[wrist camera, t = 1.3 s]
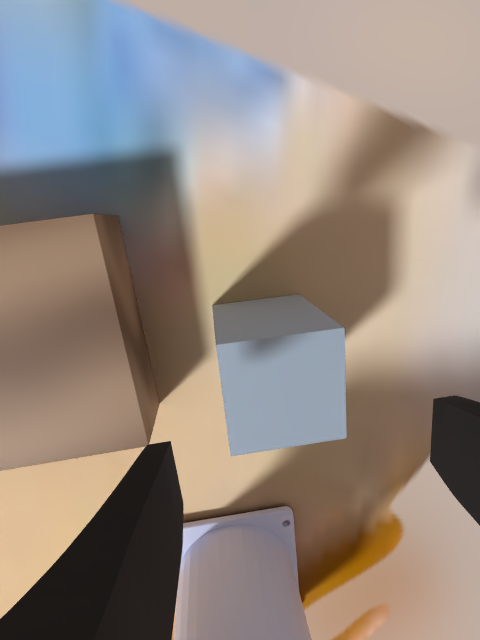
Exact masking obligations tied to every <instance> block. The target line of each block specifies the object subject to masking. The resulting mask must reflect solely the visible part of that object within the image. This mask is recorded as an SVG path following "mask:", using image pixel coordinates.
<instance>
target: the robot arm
mask: <svg viewBox="0 0 480 640" xmlns="http://www.w3.org/2000/svg"><path fill="white" fill-rule="evenodd" d="M430 462H431V463H432V465H433V466H434V468H435V469H436V471H437V472H438V474H439V475H440V476H441V478H442V480H443V481H444V483H445V484H446V485H447V487H448V488H449V489H450V491H451V492H452V494H453V495H454V496H455V497H456V499H457V500H458V501H459V502H460V503H461V505H462V506H463V507H464V508H465V509H466V510H467V511H468V513H469V514H470V515H471V516H472V517H473V518H474V519H475V521H476V522H477V523H478V524H479V525H480V403H479V402H476V401H473V400H470V399H466V398H463V397H459V396H448V397H442V398H436V399H434V400H433V418H432V437H431V455H430ZM285 520H288V521H286V522H284V521H285ZM176 598H177V603H176ZM175 606H176V617H175V630H174V640H311V636H310V632H309V628H308V624H307V621H306V616H305V612H304V608H303V605H302V601H301V597H300V593H299V583H298V570H297V556H296V543H295V529H294V516H293V512H292V509H291V508H290V507H287V506H283V507H277V508H271V509H265V510H259V511H253V512H247V513H241V514H235V515H229V516H223V517H217V518H211V519H205V520H199V521H193V522H187V523H183V499H182V495H181V490H180V485H179V480H178V475H177V470H176V465H175V460H174V456H173V451H172V446H171V441H169V442H162V443H156V444H150V445H147V446H146V447H145V448H144V450H143V451H142V452H141V454H140V455H139V456H138V458H137V459H136V461H135V462H134V463H133V465H132V466H131V468H130V469H129V470H128V472H127V473H126V475H125V476H124V477H123V479H122V480H121V481H120V483H119V484H118V486H117V487H116V488H115V490H114V491H113V492H112V494H111V495H110V496H109V497H108V499H107V500H106V501H105V503H104V504H103V505H102V507H101V508H100V509H99V511H98V512H97V513H96V514H95V516H94V517H93V518H92V519H91V521H90V522H89V523H88V524H87V525H86V527H85V528H84V529H83V530H82V532H81V533H80V534H79V535H78V536H77V538H76V539H75V540H74V541H73V542H72V544H71V545H70V546H69V547H68V548H67V550H66V551H65V552H64V553H63V554H62V555H61V556H60V558H59V559H58V560H57V561H56V562H55V563H54V564H53V565H52V566H51V568H50V569H49V570H48V571H47V572H46V573H45V574H44V575H43V576H42V577H41V578H40V579H39V580H38V581H37V582H36V583H35V585H34V586H33V587H32V588H31V589H30V590H29V591H28V592H27V593H26V594H25V595H24V596H23V597H22V598H21V599H20V600H19V601H18V602H17V603H16V604H15V605H14V606H13V607H12V608H11V609H10V610H9V611H8V612H7V613H6V614H5V615H4V616H3V617H2V618H1V619H0V640H171V638H172V630H173V622H174V614H175Z"/></svg>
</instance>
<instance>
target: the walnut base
mask: <svg viewBox="0 0 480 640" xmlns="http://www.w3.org/2000/svg"><path fill="white" fill-rule="evenodd" d="M158 407H159V400H158V395H157V391H156V386H155V382H154V377H153V372H152V368H151V363H150V359H149V354H148V350H147V345H146V341H145V336H144V332H143V327H142V322H141V318H140V313H139V309H138V304H137V300H136V295H135V291H134V286H133V282H132V277H131V272H130V268H129V263H128V259H127V254H126V250H125V245H124V241H123V236H122V232H121V227H120V222H119V218H118V216H115V215H103V214H87V215H79V216H71V217H63V218H55V219H47V220H40V221H32V222H24V223H16V224H8V225H1V226H0V471H2V470H8V469H14V468H20V467H26V466H32V465H37V464H43V463H49V462H55V461H61V460H67V459H73V458H79V457H85V456H91V455H97V454H103V453H109V452H115V451H121V450H127V449H133V448H139V447H145V446H147V445H149V442H150V438H151V435H152V431H153V427H154V423H155V419H156V415H157V411H158Z"/></svg>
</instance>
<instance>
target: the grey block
mask: <svg viewBox="0 0 480 640" xmlns="http://www.w3.org/2000/svg"><path fill="white" fill-rule="evenodd" d="M212 308H213V319H214V329H215V339H216V348H217V356H218V363H219V371H220V378H221V386H222V393H223V401H224V408H225V416H226V423H227V431H228V438H229V446H230V453H231V456H236V455H243V454H249V453H255V452H262V451H268V450H275V449H281V448H287V447H294V446H300V445H306V444H313V443H319V442H325V441H332V440H338V439H345V438H347V434H346V378H345V328H344V327H343V326H342V325H340V324H339V323H338V322H336V321H335V320H334V319H332V318H331V317H330V316H328V315H327V314H326V313H324V312H323V311H321V310H320V309H319V308H317V307H316V306H315V305H313V304H312V303H311V302H309V301H308V300H307V299H305V298H304V297H303V296H301V295H300V294H297V295H289V296H281V297H273V298H265V299H257V300H249V301H241V302H233V303H225V304H217V305H212Z"/></svg>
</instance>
